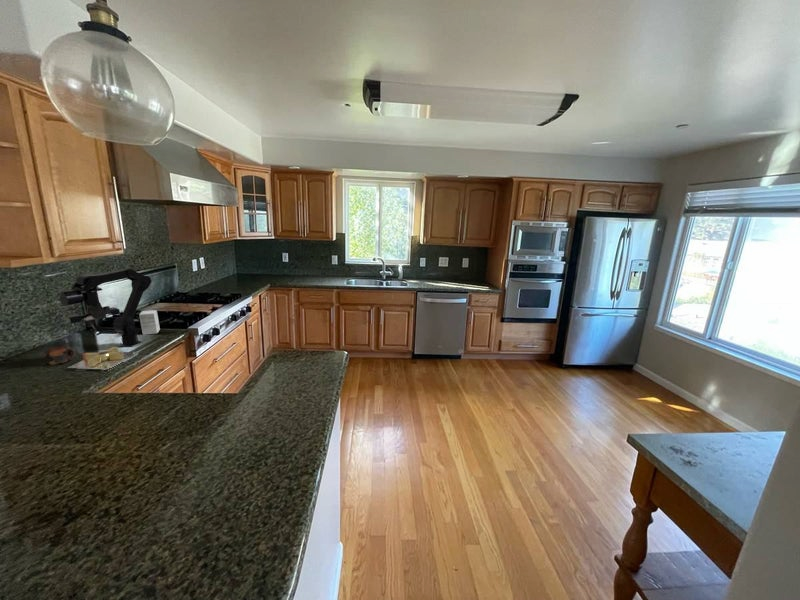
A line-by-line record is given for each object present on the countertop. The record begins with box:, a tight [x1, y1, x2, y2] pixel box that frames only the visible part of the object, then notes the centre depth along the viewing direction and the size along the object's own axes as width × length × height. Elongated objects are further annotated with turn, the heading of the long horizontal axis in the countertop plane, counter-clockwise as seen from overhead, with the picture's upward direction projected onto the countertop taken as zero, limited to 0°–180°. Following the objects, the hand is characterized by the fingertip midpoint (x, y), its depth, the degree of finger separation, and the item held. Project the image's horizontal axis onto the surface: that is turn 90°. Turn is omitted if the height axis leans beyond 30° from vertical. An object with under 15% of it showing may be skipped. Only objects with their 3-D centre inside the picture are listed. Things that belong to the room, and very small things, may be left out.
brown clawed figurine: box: [43, 346, 78, 365], centre depth 155 cm, size 12×10×8 cm
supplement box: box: [138, 309, 161, 336], centre depth 194 cm, size 7×7×13 cm
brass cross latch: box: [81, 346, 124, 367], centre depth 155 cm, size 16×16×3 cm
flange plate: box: [66, 351, 139, 369], centre depth 156 cm, size 18×18×2 cm
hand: (97, 331), depth 162 cm, fingers closed
